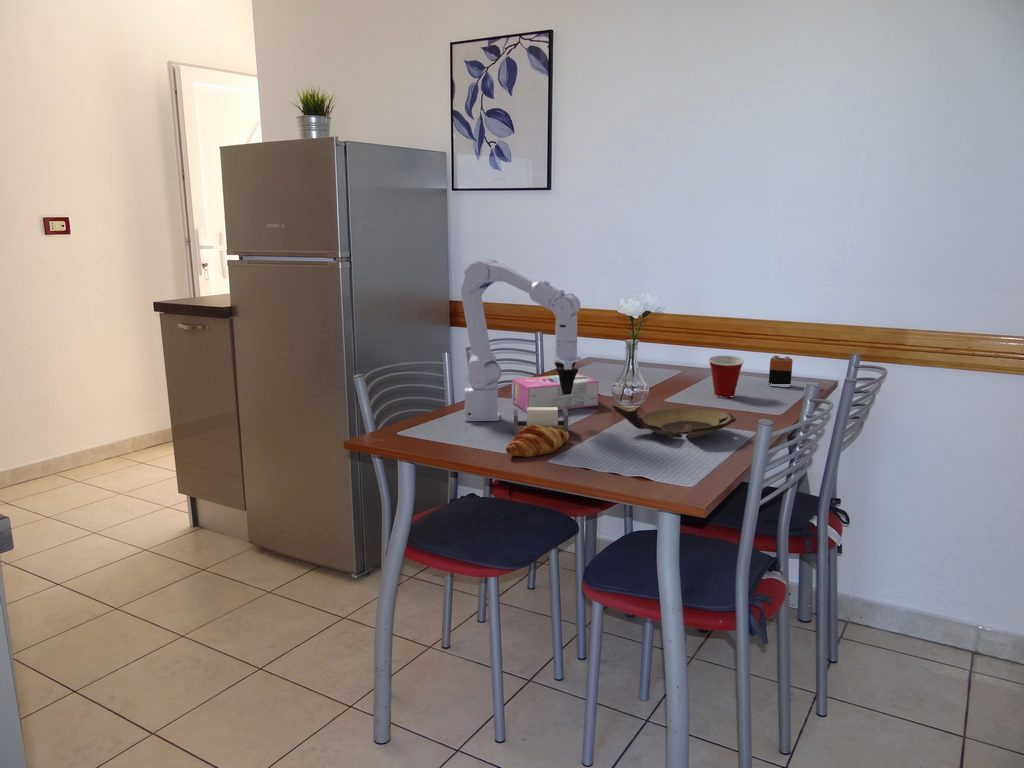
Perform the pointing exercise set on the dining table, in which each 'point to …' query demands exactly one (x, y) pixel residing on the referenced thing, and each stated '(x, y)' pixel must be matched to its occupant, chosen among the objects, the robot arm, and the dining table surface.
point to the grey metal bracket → (561, 425)
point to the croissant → (537, 441)
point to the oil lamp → (678, 421)
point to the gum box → (554, 392)
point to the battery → (780, 370)
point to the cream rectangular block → (542, 416)
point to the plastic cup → (725, 374)
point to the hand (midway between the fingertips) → (565, 391)
